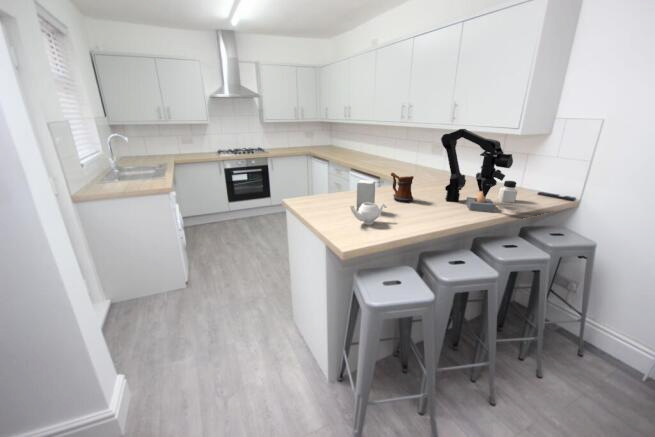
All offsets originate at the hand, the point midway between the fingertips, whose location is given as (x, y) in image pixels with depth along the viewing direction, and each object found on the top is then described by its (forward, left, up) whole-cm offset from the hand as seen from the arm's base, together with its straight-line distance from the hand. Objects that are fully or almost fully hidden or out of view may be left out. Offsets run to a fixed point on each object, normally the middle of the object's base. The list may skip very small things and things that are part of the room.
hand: (482, 194), depth 157 cm
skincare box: (-60, -23, -8) cm, 65 cm away
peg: (0, 0, -8) cm, 8 cm away
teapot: (-56, -41, -8) cm, 70 cm away
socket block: (0, 0, -8) cm, 8 cm away
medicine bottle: (+19, +21, -8) cm, 29 cm away
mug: (-43, +5, -8) cm, 44 cm away
